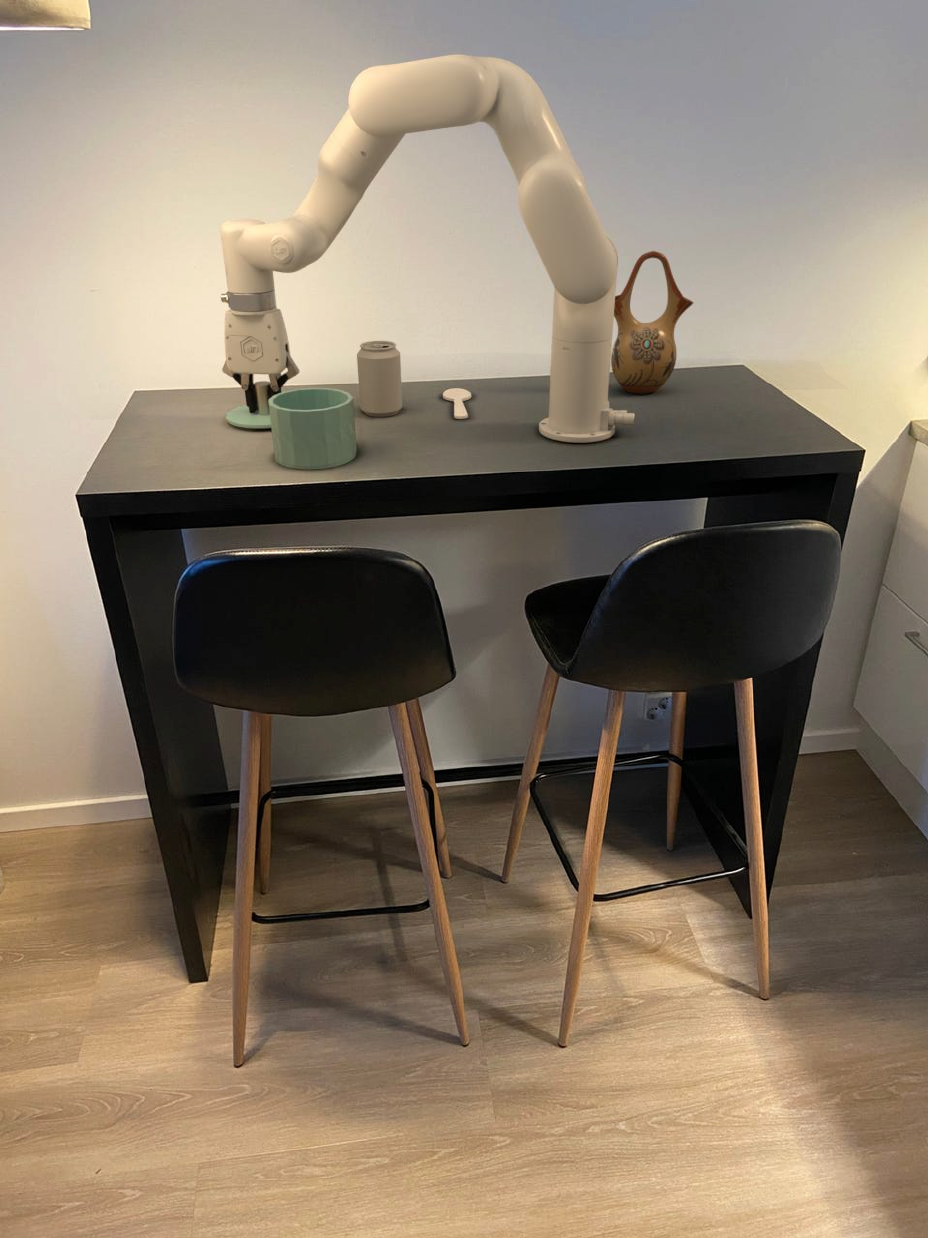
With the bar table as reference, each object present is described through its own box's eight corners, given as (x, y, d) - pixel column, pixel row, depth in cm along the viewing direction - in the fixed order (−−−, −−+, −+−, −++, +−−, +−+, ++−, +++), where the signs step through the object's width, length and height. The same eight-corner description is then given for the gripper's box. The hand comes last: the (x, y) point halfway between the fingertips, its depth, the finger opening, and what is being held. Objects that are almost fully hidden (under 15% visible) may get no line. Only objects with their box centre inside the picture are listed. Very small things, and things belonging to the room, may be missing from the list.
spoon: (446, 419, 158) (446, 416, 158) (441, 390, 174) (441, 387, 174) (476, 418, 159) (476, 415, 158) (469, 390, 174) (469, 387, 174)
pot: (364, 444, 148) (361, 388, 143) (344, 471, 137) (339, 412, 132) (289, 441, 149) (284, 386, 145) (263, 467, 138) (256, 409, 134)
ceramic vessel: (677, 383, 177) (692, 246, 165) (689, 397, 170) (706, 253, 157) (593, 385, 177) (602, 247, 164) (602, 399, 169) (612, 255, 156)
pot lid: (315, 409, 164) (312, 374, 161) (291, 433, 153) (288, 395, 150) (243, 406, 166) (238, 371, 163) (214, 430, 154) (209, 392, 151)
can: (396, 419, 159) (393, 349, 153) (355, 416, 160) (350, 347, 154) (407, 406, 165) (404, 339, 160) (367, 404, 167) (363, 337, 161)
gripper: (195, 304, 148) (212, 416, 157) (294, 307, 145) (304, 419, 154) (213, 296, 154) (228, 403, 163) (307, 298, 152) (317, 407, 161)
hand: (265, 410), depth 159 cm, fingers open, 3 cm apart
